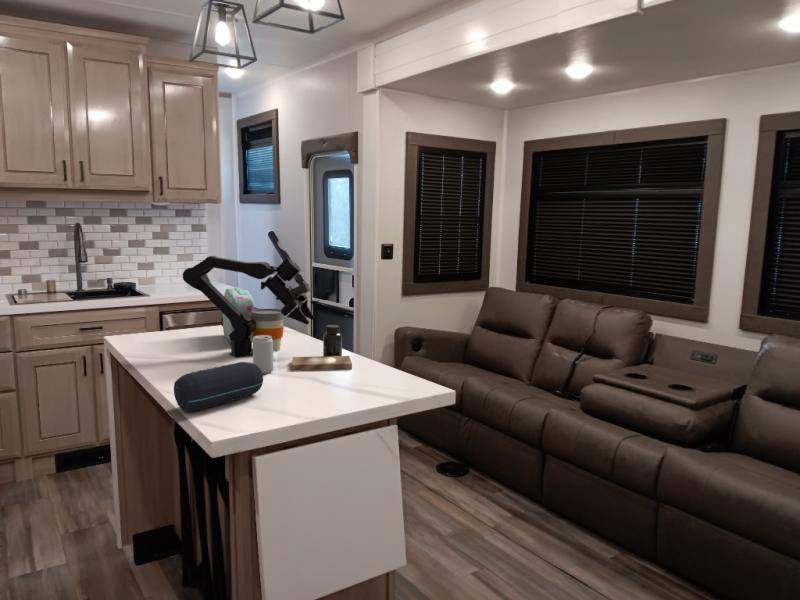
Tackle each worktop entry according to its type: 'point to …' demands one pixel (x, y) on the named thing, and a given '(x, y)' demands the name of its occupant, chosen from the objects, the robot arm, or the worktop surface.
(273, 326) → the reusable coffee cup
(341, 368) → the walnut plinth
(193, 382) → the portable speaker
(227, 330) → the lunch box
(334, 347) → the supplement bottle
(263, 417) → the worktop surface
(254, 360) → the beverage can
